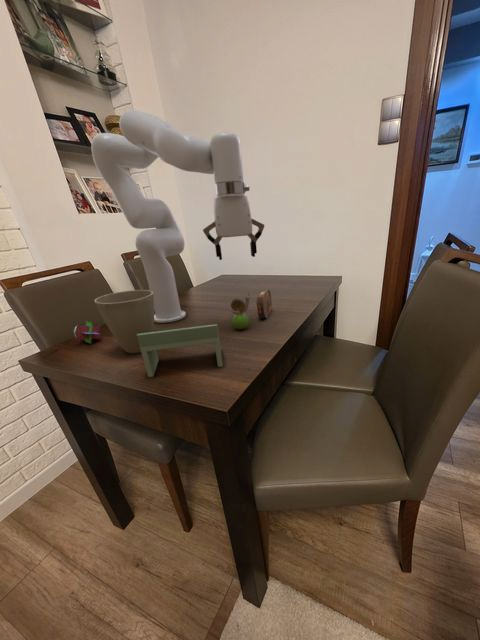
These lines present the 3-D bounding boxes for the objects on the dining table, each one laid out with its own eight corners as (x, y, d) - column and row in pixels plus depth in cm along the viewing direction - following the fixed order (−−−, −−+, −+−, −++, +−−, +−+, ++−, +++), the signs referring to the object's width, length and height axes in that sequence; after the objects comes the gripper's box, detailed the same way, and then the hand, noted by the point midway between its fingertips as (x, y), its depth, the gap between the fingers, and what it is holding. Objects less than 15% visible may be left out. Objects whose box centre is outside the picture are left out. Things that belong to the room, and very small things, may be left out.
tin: (265, 321, 98) (263, 297, 95) (256, 321, 99) (254, 298, 95) (272, 308, 111) (271, 287, 108) (264, 308, 112) (263, 287, 108)
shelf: (154, 360, 76) (144, 322, 71) (220, 351, 78) (215, 314, 73) (148, 377, 68) (136, 335, 63) (222, 366, 70) (217, 325, 65)
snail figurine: (251, 331, 90) (248, 294, 85) (232, 332, 91) (227, 296, 86) (252, 325, 95) (249, 290, 90) (233, 326, 96) (229, 291, 90)
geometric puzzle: (100, 328, 96) (79, 314, 90) (110, 331, 92) (89, 317, 86) (87, 345, 94) (65, 333, 88) (97, 349, 90) (74, 336, 84)
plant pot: (160, 355, 78) (146, 299, 71) (104, 362, 76) (85, 306, 70) (167, 335, 92) (157, 287, 85) (120, 341, 90) (105, 292, 83)
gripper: (259, 190, 80) (263, 253, 87) (197, 194, 77) (207, 259, 85) (264, 187, 73) (268, 256, 80) (197, 191, 71) (207, 262, 78)
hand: (237, 257), depth 82 cm, fingers open, 9 cm apart
